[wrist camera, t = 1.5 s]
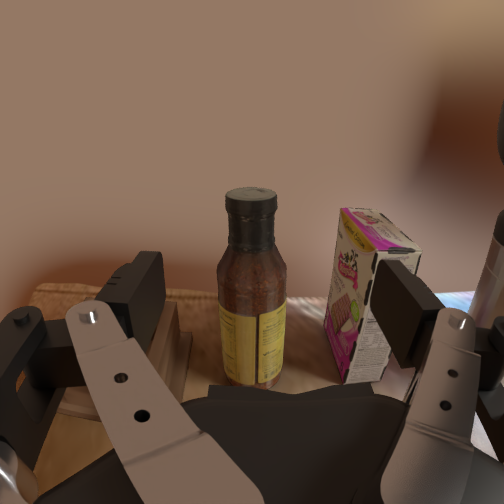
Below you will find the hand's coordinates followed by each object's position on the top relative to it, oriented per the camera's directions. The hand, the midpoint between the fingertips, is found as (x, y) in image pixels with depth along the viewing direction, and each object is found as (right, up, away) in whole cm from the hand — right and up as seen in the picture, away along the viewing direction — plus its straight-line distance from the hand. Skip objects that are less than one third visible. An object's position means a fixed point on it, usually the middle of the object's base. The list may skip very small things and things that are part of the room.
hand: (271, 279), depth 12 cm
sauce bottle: (-1, -13, +22) cm, 25 cm away
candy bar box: (+11, -11, +25) cm, 30 cm away
